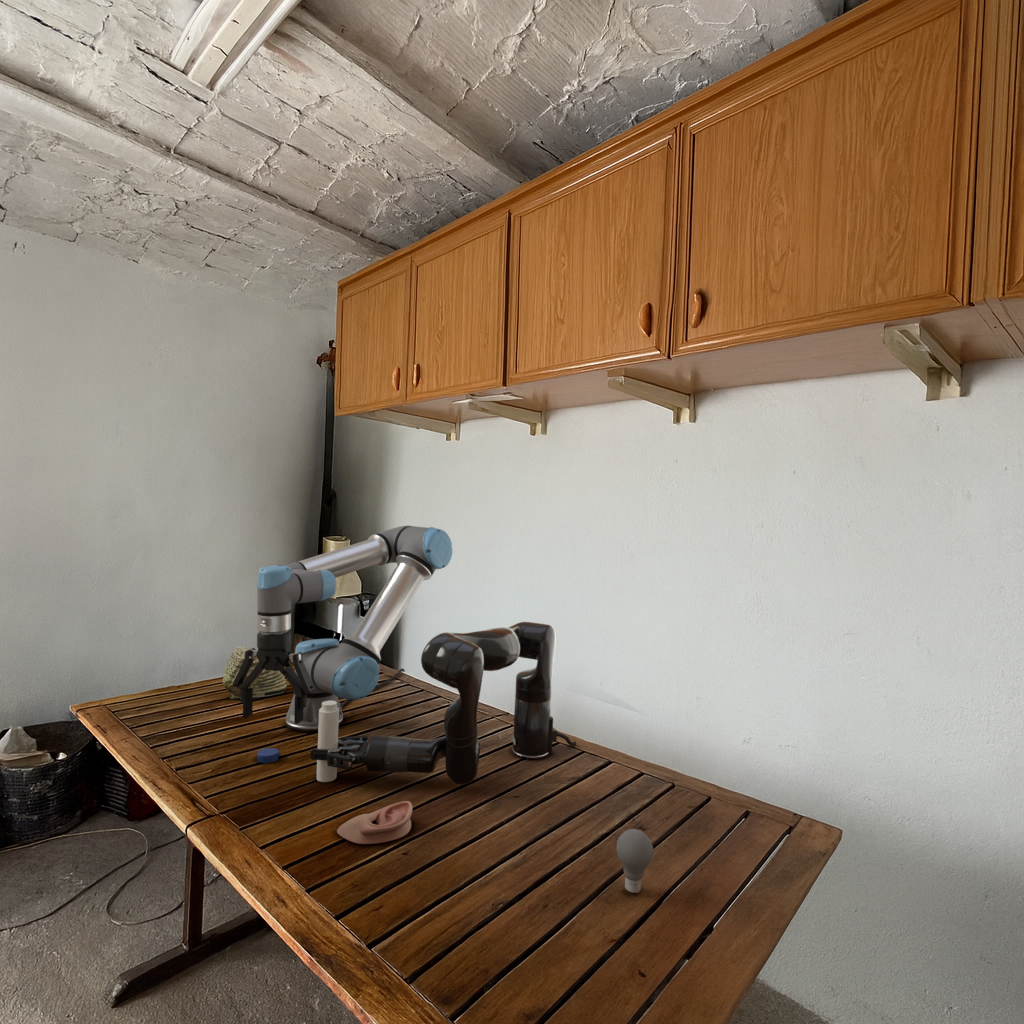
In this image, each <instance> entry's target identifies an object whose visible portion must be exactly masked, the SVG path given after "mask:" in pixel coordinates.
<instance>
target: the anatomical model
mask: <svg viewBox="0 0 1024 1024" xmlns="http://www.w3.org/2000/svg"><path fill="white" fill-rule="evenodd" d="M413 811H414V810H413V804H412V802H411V801H409V800H404V801H399V802H396V803H392V804H389V805H387V806H384V807H382V808H380V809H377V810H375V811H373V812H370V813H362V814H358V815H357V816H354V817H352V818H350V819H348V820H347V821H345V822H344V823H342V824H341V825H339V827H338V828H337V829H336V833H337V835H339V837H342V838H343V839H345V840H346V841H349V842H351V843H353V844H357V845H373V844H382V843H388V842H391V841H394V840H398V839H400V838H403V837H404V836H406V835H407V834H408V833H409V832H410V831H411V828H412V820H411V817H412V814H413Z"/></svg>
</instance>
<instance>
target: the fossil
mask: <svg viewBox="0 0 1024 1024" xmlns="http://www.w3.org/2000/svg"><path fill="white" fill-rule="evenodd" d="M249 649H251V647H247V646H246V647H245V646H238V647H237V648H236V649H235V650H233V651H232V653H231V656H230V657H229V659H228V660H227V663H226V666H225V668H224V671H223V675H222V676H223V677H222V685H223V687H224V688H225V690H226V691H228V693H229V698H230V699H240V689H239V688H238V687H233V682H234V680H235V678H236V676H237V674H238V671H239V669H240V667H241V665H242V663H243V661H244V658H245V651H247V650H249ZM255 650H257V651H258V648H257V647H256V648H255ZM258 663H259V660H258V658H257V657H256V658H254V661H253V663H252V665H251V667H250V669H249V671H248V673H247V675H246V678H247V677H248V676H249V675H250V673H251V672H252V671H253V670H254V669H255V667H256V665H257V664H258ZM246 678H245V679H246ZM244 681H245V680H244ZM287 687H288V686H287V679H286V677H285V676H284V674H281V672H280V671H273V670H265V669H264V670H263V671H262V672H261V673H260V674H259V676H258V677H257V678H256V679H255V680H254V682H253V683H252V684H251V685H250V687H248V688H253V698H264V697H271V696H275V695H281V694H284V693H285V691H286V689H287Z"/></svg>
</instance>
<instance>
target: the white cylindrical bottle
mask: <svg viewBox="0 0 1024 1024" xmlns="http://www.w3.org/2000/svg"><path fill="white" fill-rule="evenodd" d="M338 725H339V708H338V707H337V702H336V701H324V702H322V708H320V709H319V727H318V732H317V749H329V750H332V749H338V740H339V726H340V725H339V726H338ZM335 754H338V753H335ZM327 763H328V762H327V760H316V780H317V782H320V783H330V782H333V781H335V780H336V779H337V775H338V773H337V772H338V768H336V767H331V766H328V765H327ZM335 763H336V762H335Z"/></svg>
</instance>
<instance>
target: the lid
mask: <svg viewBox="0 0 1024 1024" xmlns="http://www.w3.org/2000/svg"><path fill="white" fill-rule="evenodd" d="M279 758H280V750H279V749H278V748H275V747H266V748H262V749H260V750H258V751H257V753H256V761H257V762H258V763H261V764H271V763H274V762H276V761H278V760H279Z"/></svg>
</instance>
